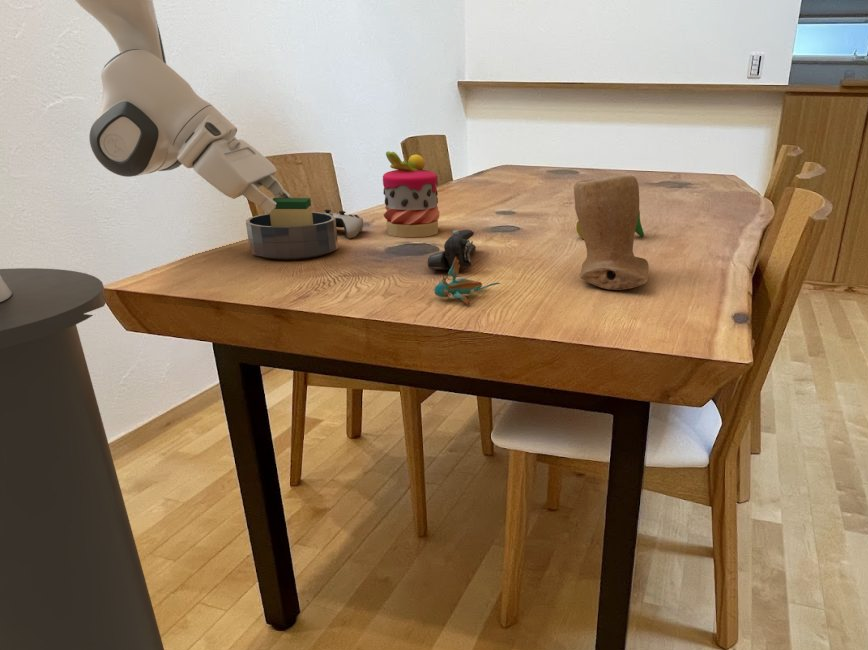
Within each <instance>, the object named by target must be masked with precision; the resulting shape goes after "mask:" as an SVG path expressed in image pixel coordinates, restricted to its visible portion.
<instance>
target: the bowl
mask: <svg viewBox="0 0 868 650" xmlns="http://www.w3.org/2000/svg"><path fill="white" fill-rule="evenodd" d="M312 217H313V225H304V226H290V227H274V226H271V220H270V213H264V214H257V215H253V216H251V217H248V218H247V219H245V227H246V233H247V241H248V246H249V252H250V254H252V255H254V256H258V257H262V258H264V259H270V260H279V261H280V260H281V261H292V260H293V261H295V260H307V259H313V258H319V257H321V256H325V255H327V254H329V253H332V252H335V251H336V250H337V249H338V247H339V241H338V231H337V229H338V228H337V227H336V218H335V217H334V216H333V215H330V214H326V212H318V211H312Z"/></svg>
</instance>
